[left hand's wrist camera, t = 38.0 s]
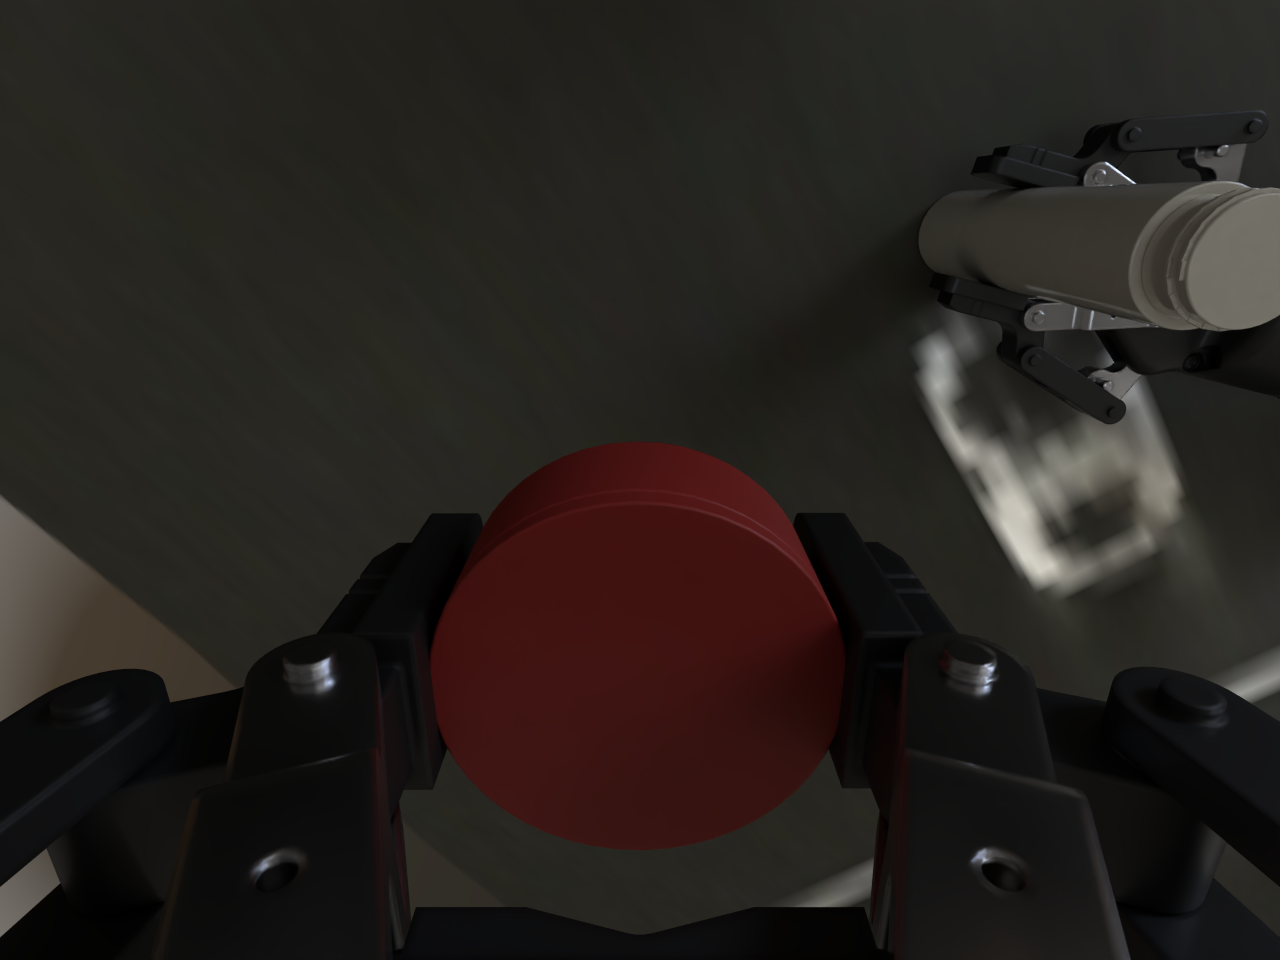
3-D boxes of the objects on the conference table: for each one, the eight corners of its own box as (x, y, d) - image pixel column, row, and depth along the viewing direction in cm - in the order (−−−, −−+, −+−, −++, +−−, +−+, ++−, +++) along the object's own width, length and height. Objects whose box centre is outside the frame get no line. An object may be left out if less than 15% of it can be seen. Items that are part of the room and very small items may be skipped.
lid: (613, 788, 12) (608, 906, 10) (395, 578, 11) (338, 666, 9) (874, 625, 11) (928, 722, 9) (668, 365, 9) (677, 409, 7)
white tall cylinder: (1003, 185, 36) (1356, 168, 18) (997, 271, 38) (1318, 333, 20) (919, 195, 36) (1188, 188, 19) (916, 280, 38) (1163, 350, 20)
